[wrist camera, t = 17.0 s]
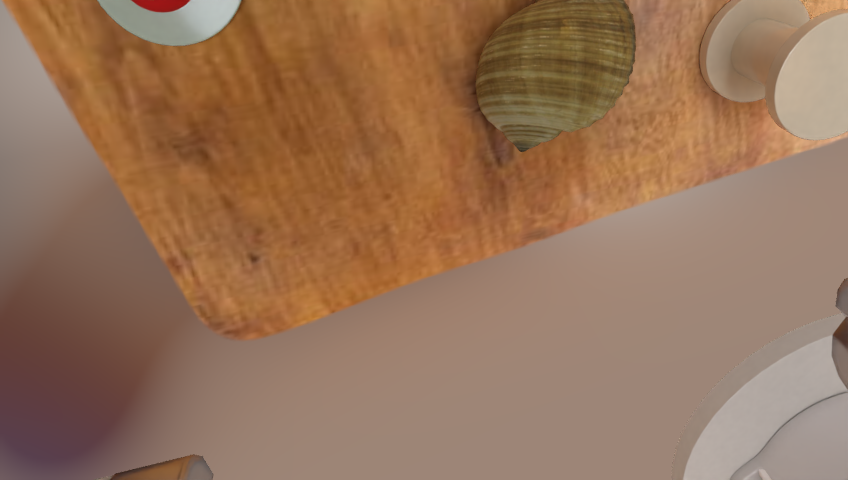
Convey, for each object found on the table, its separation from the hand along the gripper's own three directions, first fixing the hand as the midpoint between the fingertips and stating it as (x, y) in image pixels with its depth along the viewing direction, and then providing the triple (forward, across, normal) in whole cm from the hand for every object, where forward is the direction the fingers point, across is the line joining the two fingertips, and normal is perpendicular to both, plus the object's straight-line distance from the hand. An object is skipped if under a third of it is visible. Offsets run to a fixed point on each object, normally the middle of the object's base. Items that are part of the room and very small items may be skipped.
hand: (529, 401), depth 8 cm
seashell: (+29, -9, +4) cm, 30 cm away
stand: (+29, -20, +7) cm, 36 cm away
